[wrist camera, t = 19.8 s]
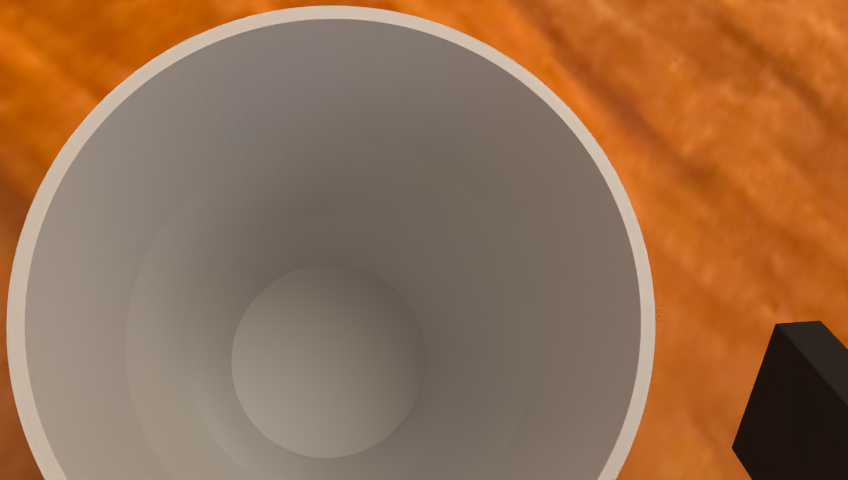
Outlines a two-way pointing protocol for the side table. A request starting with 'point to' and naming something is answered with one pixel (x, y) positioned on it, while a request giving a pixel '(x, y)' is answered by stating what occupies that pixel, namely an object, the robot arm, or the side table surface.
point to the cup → (331, 268)
